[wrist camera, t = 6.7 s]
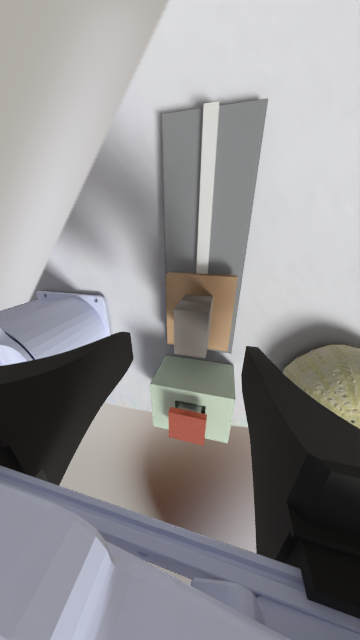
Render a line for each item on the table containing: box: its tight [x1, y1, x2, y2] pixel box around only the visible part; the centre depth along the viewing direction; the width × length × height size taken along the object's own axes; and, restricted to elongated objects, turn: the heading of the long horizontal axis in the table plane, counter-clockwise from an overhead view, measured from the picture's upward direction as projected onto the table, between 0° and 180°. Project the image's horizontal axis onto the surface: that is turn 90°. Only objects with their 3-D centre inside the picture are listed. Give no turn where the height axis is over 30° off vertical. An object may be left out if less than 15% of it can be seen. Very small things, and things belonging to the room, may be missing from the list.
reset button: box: [168, 401, 207, 445], centre depth 17 cm, size 3×3×2 cm
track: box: [162, 99, 268, 353], centre depth 16 cm, size 7×19×1 cm, turn 0°
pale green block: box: [150, 355, 235, 443], centre depth 20 cm, size 8×6×5 cm
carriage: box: [166, 272, 238, 358], centre depth 15 cm, size 6×7×5 cm
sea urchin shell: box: [283, 345, 360, 429], centre depth 17 cm, size 9×8×8 cm
